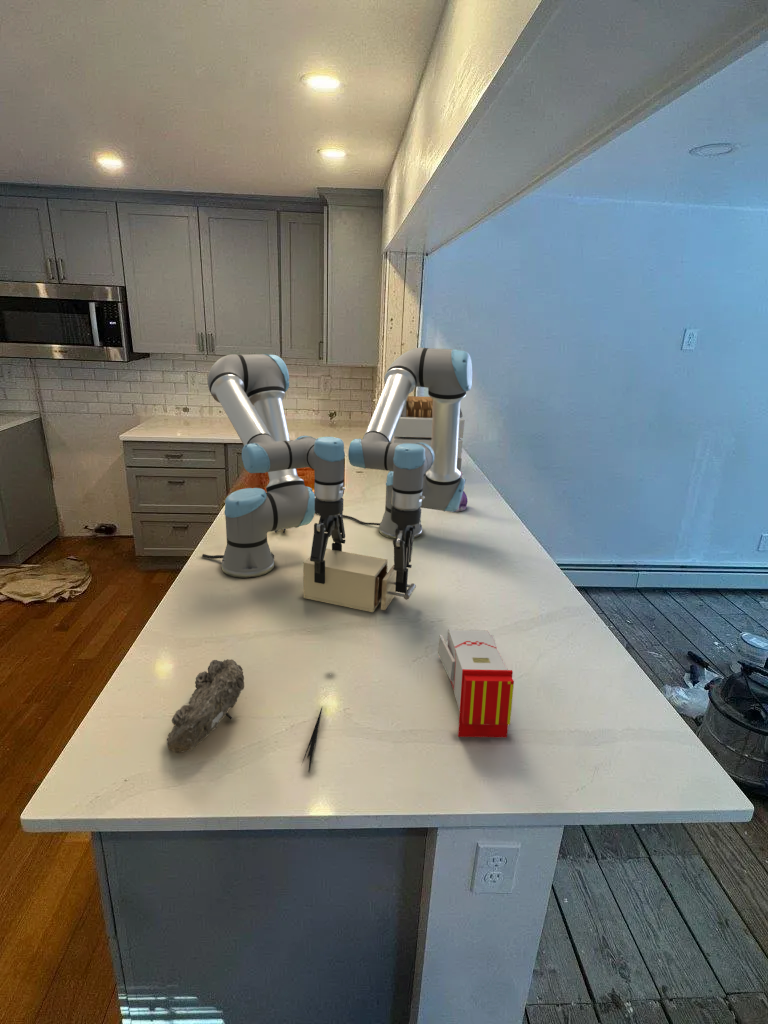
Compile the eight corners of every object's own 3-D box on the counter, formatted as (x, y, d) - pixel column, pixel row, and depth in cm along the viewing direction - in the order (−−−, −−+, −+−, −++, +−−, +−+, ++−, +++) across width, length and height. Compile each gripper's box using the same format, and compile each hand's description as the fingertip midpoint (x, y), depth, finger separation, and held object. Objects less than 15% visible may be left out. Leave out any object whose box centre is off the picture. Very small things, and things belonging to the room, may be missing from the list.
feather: (331, 679, 122) (336, 673, 122) (307, 777, 96) (313, 769, 95) (324, 675, 122) (329, 669, 121) (298, 772, 95) (304, 764, 95)
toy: (488, 613, 130) (523, 677, 101) (484, 667, 133) (517, 744, 104) (435, 612, 130) (455, 676, 101) (432, 666, 133) (451, 743, 103)
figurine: (454, 513, 222) (457, 476, 217) (439, 505, 230) (442, 470, 225) (473, 510, 226) (477, 474, 221) (459, 503, 234) (462, 468, 229)
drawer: (416, 597, 154) (418, 569, 151) (406, 615, 146) (408, 584, 143) (332, 581, 161) (333, 553, 158) (318, 596, 152) (319, 567, 149)
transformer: (382, 463, 289) (386, 382, 275) (445, 464, 293) (451, 384, 279) (390, 482, 257) (394, 392, 243) (460, 483, 261) (468, 394, 247)
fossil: (192, 660, 117) (244, 628, 112) (224, 691, 120) (276, 661, 115) (142, 746, 98) (202, 712, 93) (182, 779, 101) (242, 748, 96)
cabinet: (385, 593, 158) (387, 559, 154) (373, 612, 148) (374, 576, 144) (319, 580, 163) (320, 547, 159) (303, 597, 153) (303, 562, 150)
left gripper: (324, 513, 136) (323, 595, 143) (358, 486, 157) (356, 559, 164) (295, 509, 138) (296, 589, 145) (333, 483, 159) (332, 555, 166)
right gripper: (414, 516, 135) (408, 605, 142) (427, 501, 146) (420, 583, 154) (384, 512, 137) (379, 599, 144) (399, 497, 148) (394, 578, 156)
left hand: (328, 573), depth 155 cm, fingers closed on cabinet, 11 cm apart
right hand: (401, 591), depth 149 cm, fingers closed
